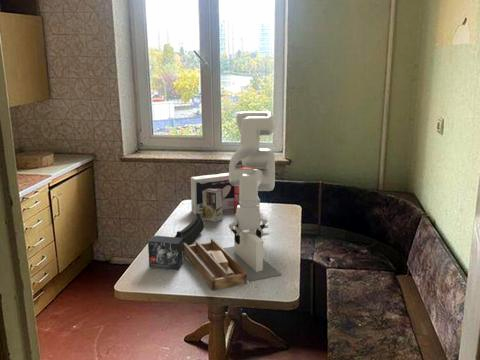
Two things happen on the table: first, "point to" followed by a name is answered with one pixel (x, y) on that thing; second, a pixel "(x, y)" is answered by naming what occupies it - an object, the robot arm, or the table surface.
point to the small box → (165, 252)
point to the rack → (214, 265)
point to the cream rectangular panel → (250, 249)
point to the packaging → (214, 183)
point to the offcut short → (220, 258)
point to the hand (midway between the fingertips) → (248, 241)
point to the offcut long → (225, 268)
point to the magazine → (191, 230)
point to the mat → (251, 273)
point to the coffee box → (212, 205)
